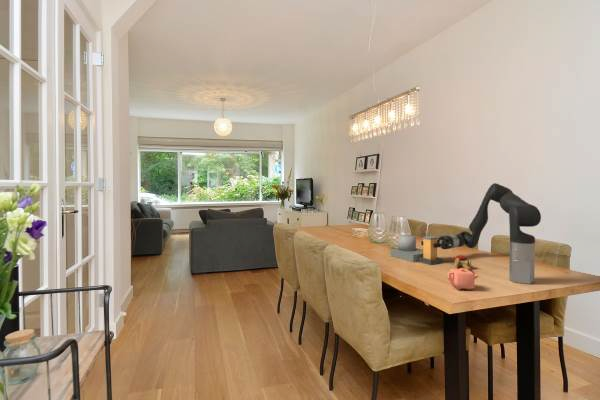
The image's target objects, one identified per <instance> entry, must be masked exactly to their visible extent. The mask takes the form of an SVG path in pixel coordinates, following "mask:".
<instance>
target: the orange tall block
mask: <svg viewBox="0 0 600 400" xmlns="http://www.w3.org/2000/svg"><path fill="white" fill-rule="evenodd" d="M422 239H423V240H422V241H423V245H422V247H423V249H422V250H423V258H426V259H430V260H432V259H437V257H438V247H437V248H434V247H433V244H434V243H437V239H439V237H438V236H433V235H429V236H428V235H427V236H422Z"/></svg>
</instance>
